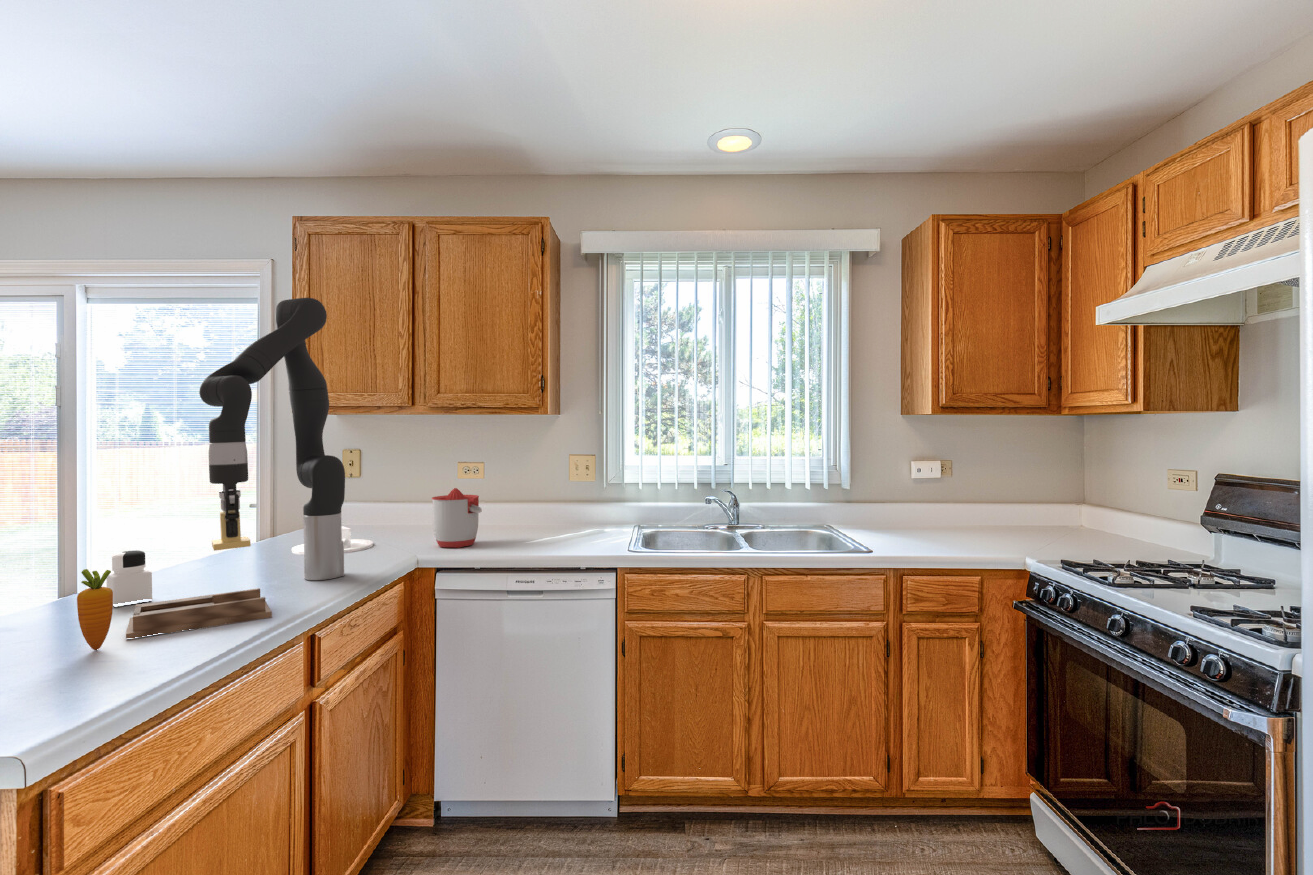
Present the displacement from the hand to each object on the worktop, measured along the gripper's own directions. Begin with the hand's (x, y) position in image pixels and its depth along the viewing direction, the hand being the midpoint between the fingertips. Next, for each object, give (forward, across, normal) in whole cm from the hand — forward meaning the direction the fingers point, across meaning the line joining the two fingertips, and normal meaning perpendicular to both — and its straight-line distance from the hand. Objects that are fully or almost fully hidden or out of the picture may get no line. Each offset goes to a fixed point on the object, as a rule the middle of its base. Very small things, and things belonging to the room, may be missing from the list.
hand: (231, 535), depth 149 cm
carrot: (+15, -24, +23) cm, 36 cm away
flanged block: (+2, 0, 0) cm, 2 cm away
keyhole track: (+15, -13, +7) cm, 21 cm away
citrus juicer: (+17, +40, -68) cm, 80 cm away
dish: (+17, +64, -33) cm, 74 cm away
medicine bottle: (+16, +16, +19) cm, 30 cm away
